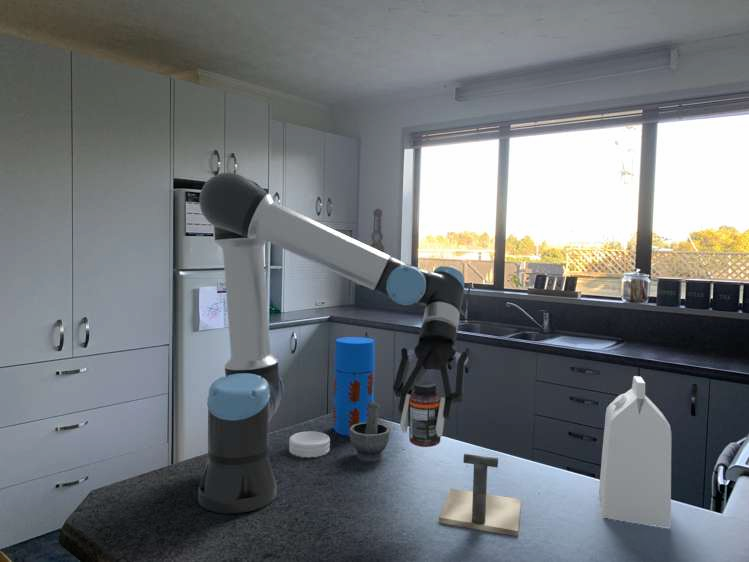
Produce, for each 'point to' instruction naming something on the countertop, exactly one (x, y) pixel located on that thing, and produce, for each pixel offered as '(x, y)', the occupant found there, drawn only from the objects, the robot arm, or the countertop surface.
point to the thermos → (353, 382)
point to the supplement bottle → (424, 414)
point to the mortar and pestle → (370, 436)
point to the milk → (636, 460)
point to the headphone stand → (481, 503)
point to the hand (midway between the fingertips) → (420, 430)
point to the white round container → (309, 444)
